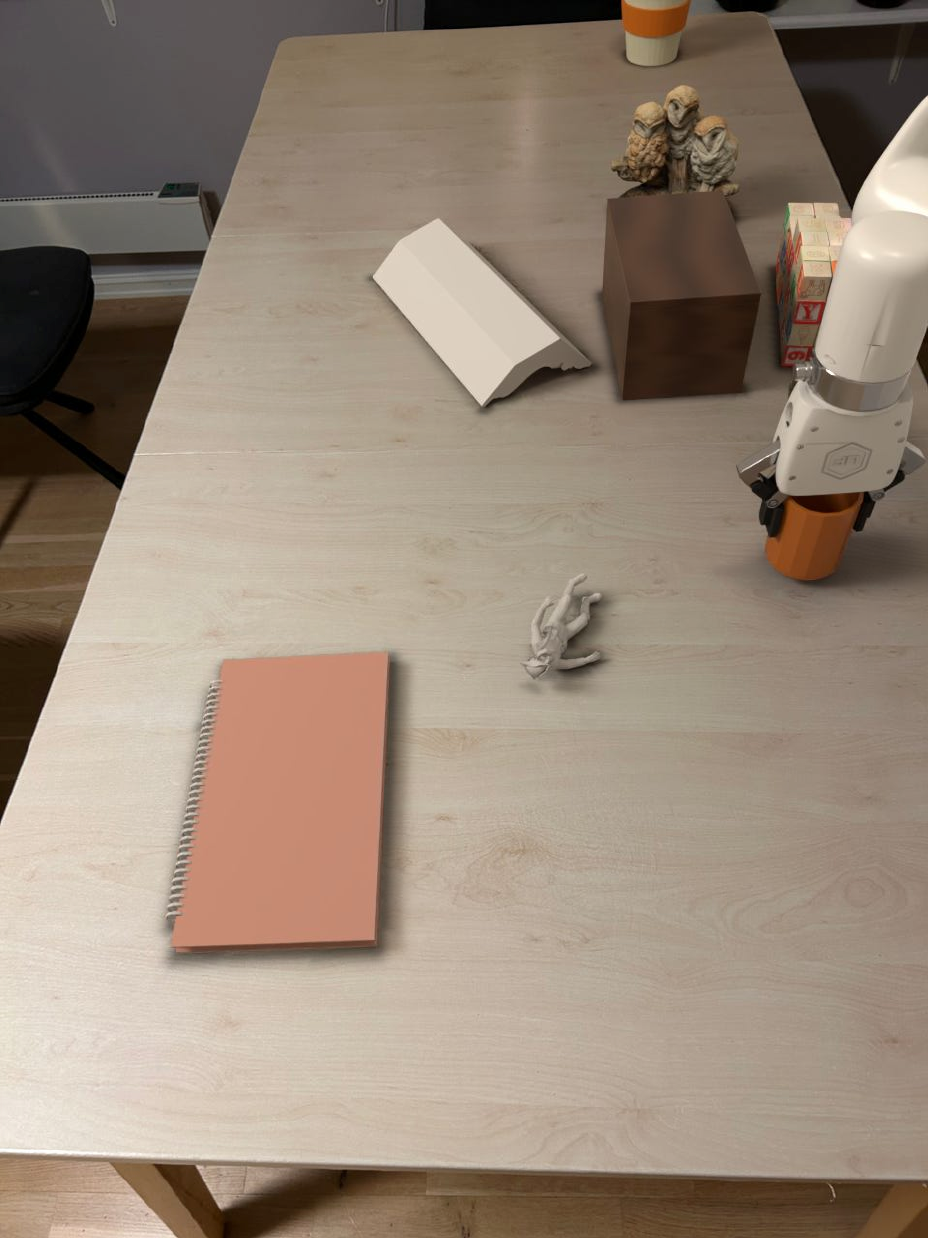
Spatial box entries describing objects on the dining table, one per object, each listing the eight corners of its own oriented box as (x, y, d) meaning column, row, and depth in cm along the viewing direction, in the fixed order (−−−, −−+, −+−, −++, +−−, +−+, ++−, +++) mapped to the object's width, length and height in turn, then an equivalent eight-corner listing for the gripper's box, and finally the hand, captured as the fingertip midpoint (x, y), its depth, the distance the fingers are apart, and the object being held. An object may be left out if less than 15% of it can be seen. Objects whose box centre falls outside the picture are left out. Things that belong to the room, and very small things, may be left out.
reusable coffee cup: (649, 35, 175) (657, -60, 163) (701, 53, 168) (713, -45, 157) (602, 57, 170) (606, -40, 158) (653, 76, 164) (662, -23, 152)
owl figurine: (603, 231, 134) (609, 107, 120) (613, 190, 141) (621, 68, 127) (731, 239, 130) (753, 111, 117) (736, 196, 137) (757, 71, 124)
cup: (829, 523, 94) (851, 457, 87) (849, 577, 90) (874, 512, 83) (757, 528, 95) (773, 463, 88) (773, 582, 90) (791, 518, 83)
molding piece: (419, 310, 137) (372, 276, 130) (470, 244, 133) (424, 205, 126) (529, 436, 118) (481, 405, 111) (591, 363, 115) (546, 327, 107)
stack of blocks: (773, 268, 125) (793, 177, 116) (822, 269, 124) (845, 178, 115) (781, 366, 112) (803, 274, 103) (835, 369, 111) (863, 276, 102)
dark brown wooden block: (707, 287, 124) (723, 189, 113) (741, 392, 110) (761, 292, 100) (601, 294, 124) (607, 198, 114) (622, 400, 111) (630, 301, 100)
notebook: (216, 670, 90) (211, 658, 88) (390, 661, 89) (387, 649, 88) (163, 954, 73) (155, 946, 71) (377, 947, 72) (373, 938, 71)
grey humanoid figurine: (621, 618, 92) (592, 689, 82) (582, 638, 95) (550, 708, 85) (574, 557, 90) (539, 623, 81) (536, 579, 93) (498, 645, 83)
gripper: (758, 411, 73) (726, 559, 87) (985, 394, 72) (916, 547, 86) (739, 352, 78) (712, 502, 92) (952, 335, 77) (892, 489, 91)
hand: (811, 522), depth 89 cm, fingers closed on cup, 7 cm apart
